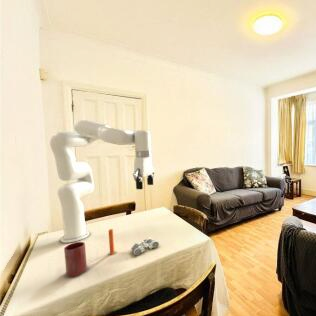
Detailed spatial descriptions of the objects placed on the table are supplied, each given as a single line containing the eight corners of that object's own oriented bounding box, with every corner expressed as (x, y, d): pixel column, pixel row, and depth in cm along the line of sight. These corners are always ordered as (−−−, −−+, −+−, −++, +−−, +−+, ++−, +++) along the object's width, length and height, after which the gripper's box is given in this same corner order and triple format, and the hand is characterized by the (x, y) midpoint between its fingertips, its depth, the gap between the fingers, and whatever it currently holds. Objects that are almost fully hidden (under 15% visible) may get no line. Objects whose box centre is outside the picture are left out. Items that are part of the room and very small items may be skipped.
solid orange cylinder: (109, 253, 99) (108, 229, 98) (113, 251, 100) (112, 228, 99) (110, 254, 98) (108, 231, 96) (114, 253, 99) (113, 229, 98)
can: (66, 271, 85) (63, 245, 84) (85, 264, 90) (83, 240, 89) (66, 279, 80) (64, 252, 79) (87, 272, 85) (85, 246, 84)
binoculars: (135, 256, 96) (134, 249, 96) (128, 250, 101) (128, 243, 101) (159, 246, 105) (158, 239, 105) (151, 241, 110) (151, 235, 110)
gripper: (146, 153, 113) (147, 183, 115) (125, 155, 96) (127, 190, 98) (158, 153, 112) (160, 183, 114) (140, 155, 95) (142, 191, 97)
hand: (145, 186), depth 106 cm, fingers open, 9 cm apart
